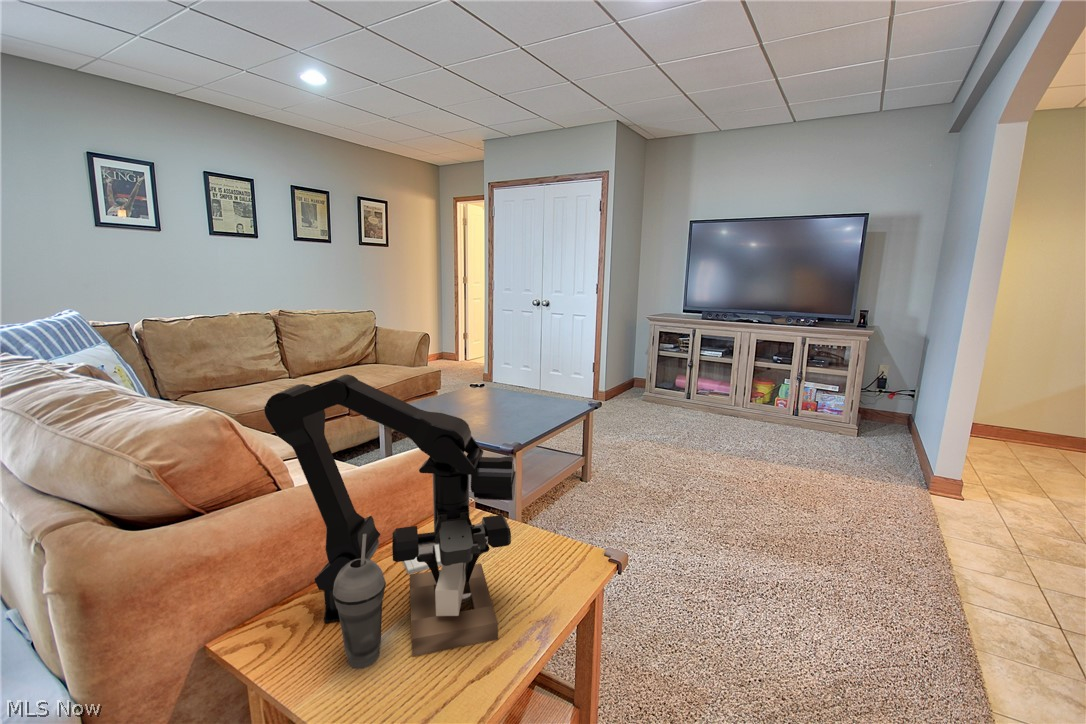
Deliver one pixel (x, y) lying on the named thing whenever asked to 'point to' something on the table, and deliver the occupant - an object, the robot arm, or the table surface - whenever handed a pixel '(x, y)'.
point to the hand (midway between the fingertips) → (453, 583)
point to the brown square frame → (450, 630)
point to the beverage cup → (360, 609)
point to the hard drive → (420, 563)
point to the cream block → (450, 589)
